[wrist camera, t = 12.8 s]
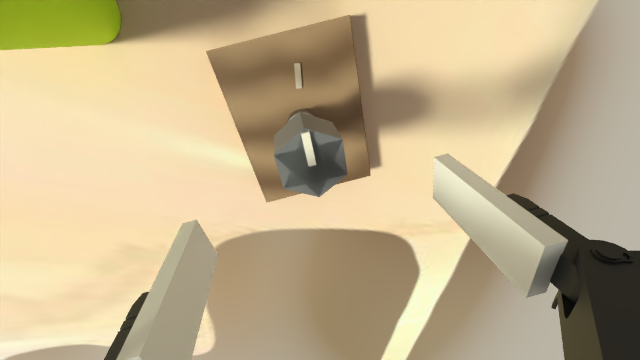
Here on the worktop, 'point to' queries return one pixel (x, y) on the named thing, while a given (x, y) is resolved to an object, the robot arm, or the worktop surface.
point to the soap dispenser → (57, 23)
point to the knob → (309, 155)
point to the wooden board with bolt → (293, 93)
